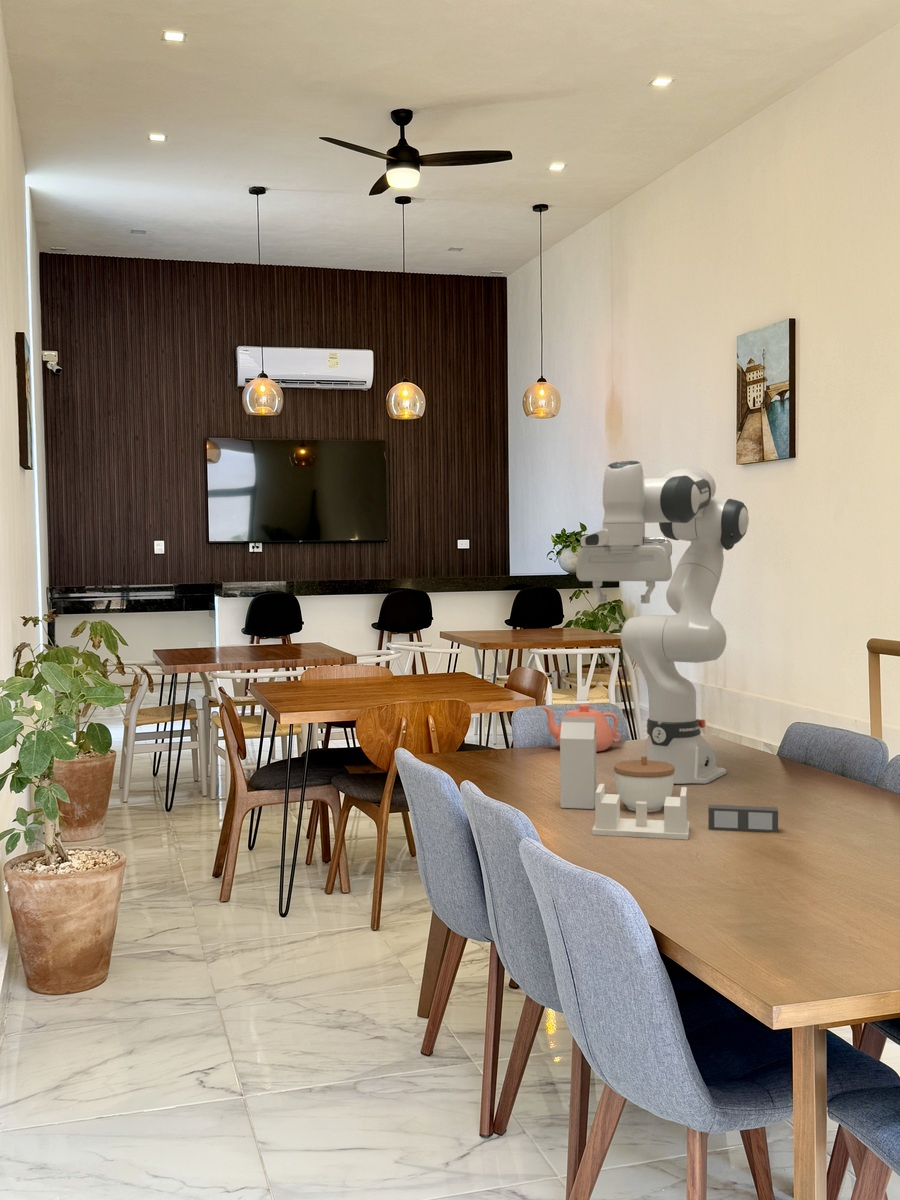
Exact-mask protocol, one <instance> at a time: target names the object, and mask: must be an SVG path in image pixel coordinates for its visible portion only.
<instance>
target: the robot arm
mask: <svg viewBox="0 0 900 1200" xmlns="http://www.w3.org/2000/svg"><path fill="white" fill-rule="evenodd" d="M716 490H717V488H716V481H715V479H714V477H713V476H712V475H711V474H710V473H709V472H708V471H706V470H704V469H701V468H698V467H691V466H690V467H679V468H676V469H673V470H671V471H668V472H667V473H666V474H664V475H663V476H662V477H650V478H645V477H644V470H643V465H642V463H641V462H640V461H637V460H624V461H616V462H612V463H609V464H608V465H607V466H606V467H605V471H604V476H603V483H602V506H603V510H604V515H603V519H602V529H600V530H597V531H594V532H591V533H588V534H585V535H582V536H581V538H580V545H581V546H582V548H580V550H579V551H578V554H577V560H576V569H575V571H576V578H577V579H578V581H579V582H592V588H593V589H594V591H595V593H596V594H597V602H598V603H597V604H599V603H600V604H601V603H602V604H605V603H606V604H607V602H608V599H607V598H608V594H607V593H606V594H604V592H603V590H602V588H601V587H602V586H603V582H645V587H647V589H646V591H645V593H644V594H640V603H641V604H650V603H651V594H652V593H653V591H654V590H655V588H656V582H669V581H670V582H669V585H668V587H667V590H666V592H665V593H666V594H665V598H666V602H667V604H668V605H669V607H670V608H671V610H672V611H673V612H675V614H673V615H671V614H669V615H667V614H645V615H639V616H634V617H633V616H632V617H630V618H629V619H627V620H626V621H625V623H624V625H623V626H622V628H621V632H620V642H621V646H622V648H623V650H624V651H625V654H626V655H628V656H629V657H630V658H631V659H632V660H633V661H634V662H635V663H636V664H637V666H638V667H639V669H640V670H641V672H642V675H643V677H644V680H645V684H646V686H647V696H648V718H647V721H646V734H647V735H648V736H647V738H645V739H644V741H643V751H642V756H647V760H652V761H661V762H666V763H669V764H672V765H673V766H674V767H675V772H674V784H678V785H679V784H681V785H682V784H709V783H711V782H712V781H714V780H717V779H718V778H721V777H722V776H723V775H725V774H727V769H726V768H724V767H721V766H717V755H716V754H717V753H716V750H715V748H714V747H713V746H712V745H711V744H710V743H709V742H707V740H706V739H705V738H704V737H703V736H702V735H701V734H702V732H701V728H703V729H705V728H706V725H707V723H706V720H705V719H699V718H697V690H696V687H695V686H694V683H692V682H691V681H690V680H689V679H687V678H686V677H685V676H682V675H681V674H680V673H679V672H678V670H677V667H676V665H675V662H677V663H691V664H692V663H693V664H694V663H695V664H698V663H705V662H706V663H707V662H712V661H716V660H719V658H720V657H722V655H723V653H724V652H725V649H726V647H727V646H726V645H727V634H726V631H725V628H724V626H723V625H722V624H721V622H720V621H719V620H717V619H716V618H715V617H714V616H713V614H712V604H713V600H714V597H715V595H716V592H717V589H718V586H719V583H720V580H721V576H722V573H723V568H724V567H723V566H724V560H725V559H724V557H725V556H724V550H726V551H730V550H731V549H733V548H734V547H735V544H736V545H737V544H738V543H739V542H740V541H742V539H743V538H744V537H745V535H746V534H747V530H748V527H749V520H750V519H749V518H750V517H749V512H748V511H749V510H748V508H747V506H746V505H745V503H744V502H743V501H740V500H737V499H734V498H728V499H726V498H718V497H715V495H716ZM647 523H648V524H654V523H655V524H658V525H659V530H660V532H661V534H662V535H663V536H664V537H663V536H658V537H652V536H651V537H650V536H649V537H648V536H646V525H645V524H647ZM669 539H670V540H673V541H680V540H681V541H685V542H690V544H689V546H688V547H687V548H686V550H685V551H684V553H683V554H682V556H681V558H680V560H679V561H678V564H677V565H676V568H675V569H674V572H673V567H672V560H671V557H672V554H673V545H672V542H671V541H670V540H669Z"/></svg>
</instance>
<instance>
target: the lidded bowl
mask: <svg viewBox="0 0 900 1200" xmlns="http://www.w3.org/2000/svg"><path fill="white" fill-rule="evenodd" d="M613 770H614V783H615V789H616V793H617V794H619V795H620V802H622V803H623V804H624V805H625V806H626V809H628V811H632V812H636V802H637V801H643V802H647V813H655V812H659V811H660V812H661V810H662V808H664V804H665V799H666V797H672V794H673V790H674V784H675V783H674V772H675V767H674V766H673V765H672V764H669V763H666V762H661V761H652V760H647V756H643V755H642V756H641V757H640V759H633V760H631V759H630V760H624V761H619V762H617V763H614V765H613Z"/></svg>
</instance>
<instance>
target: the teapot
mask: <svg viewBox="0 0 900 1200" xmlns="http://www.w3.org/2000/svg"><path fill="white" fill-rule="evenodd" d="M540 707H541V708H542V709H543V710H544V712H545V713H546V716H547V728H548V731H549V733H550V736H551V737H553V738H554V739H555V740H556V741H555V742H556V743H557V744H558V746H559V747H560V733H561V723H562V720H561V721H560V722H559V725H557V724H556V723H555V717H554V715H555V714H554V712H553V710H552V708H550V707H549V708H548V707H546V706H540ZM590 707H591V705H590V704H587V703H581V704H578V708H579V709H570V710H568V711H566V713H565V714H564V716H563V717H593V718H595V727H596V753H599V752H604V751H606V750H608V749H609V747H611V746H612V744H613V742H614V743H618V742H619V741H621V738H622V737H621V734H620V733H619V732H616V731H617V728H618V724H619V720H618V719H619V718H618V717H617V715H616V714H615V713H613V712H604V713H602V711H600V710H597V709H590ZM606 717H612V718H613V721H614V722H613V727H612V728H611V726H610V723H609V722H608V720H607V718H606ZM615 736H617V737H616V738H615Z"/></svg>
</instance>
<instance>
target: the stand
mask: <svg viewBox="0 0 900 1200" xmlns="http://www.w3.org/2000/svg"><path fill="white" fill-rule="evenodd" d="M605 785H606V784H605V783H599V784H598V786H597V787H596V792H595V807H594V810H595V811H594V814H595V815H594V817H595V818H594V819H595V820H594V822H595V823H594V824H593V827H592V829H591V830H592V831H591V834H592V835H593V836H595V835H596V836H609V837H610V836H611V837H612V836H614V837H630V838H645V839H646V838H649V839H665V840H666V839H668V840H669V839H670V840H686V841H687V840H689V836H690V824H691V823H690V821H688V809H687V808H688V803H687V802H688V799H687V798H688V796H687V795H688V793H687V792H688V788H687V787H686V786H681V789H680V795H679V796H671V797H666V799H665V804H664V806H663V820H662V819H661V820H660V819H648V812H647V802H643V801H637V802H636V811H635V818H624V817H623V818H621V799H620V795H619V794H618V793H617V794H616V793H615V794H613V793H606V792H605V788H606V787H605Z"/></svg>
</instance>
